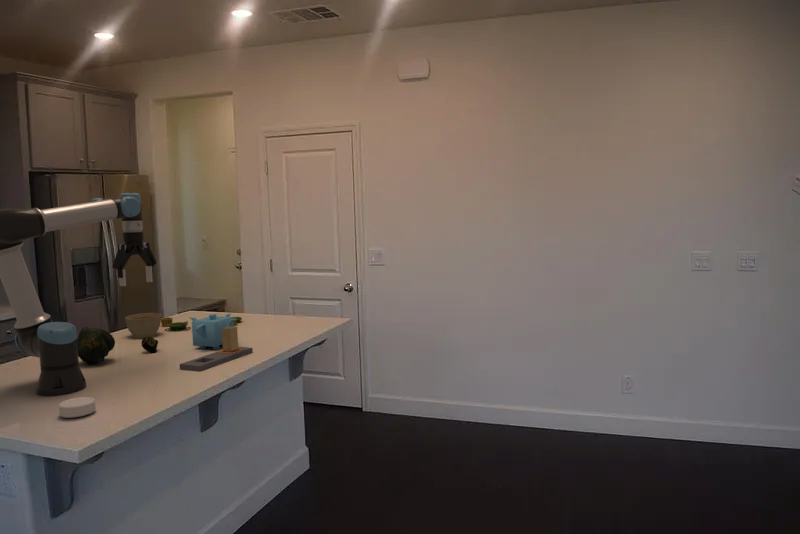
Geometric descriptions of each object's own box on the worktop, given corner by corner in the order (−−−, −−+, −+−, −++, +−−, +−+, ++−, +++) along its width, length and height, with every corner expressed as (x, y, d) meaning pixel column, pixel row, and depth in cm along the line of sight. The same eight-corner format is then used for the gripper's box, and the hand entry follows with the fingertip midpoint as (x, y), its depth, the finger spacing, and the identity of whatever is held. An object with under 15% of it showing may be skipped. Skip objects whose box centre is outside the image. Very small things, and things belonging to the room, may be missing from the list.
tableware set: (151, 335, 305) (150, 322, 305) (167, 325, 333) (167, 313, 332) (235, 331, 309) (234, 319, 308) (244, 322, 336) (243, 310, 336)
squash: (75, 369, 238) (72, 331, 236) (79, 361, 251) (76, 325, 250) (114, 365, 243) (112, 328, 242) (117, 357, 257) (114, 322, 255)
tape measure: (152, 355, 263) (157, 350, 262) (138, 348, 260) (143, 342, 259) (155, 346, 269) (160, 340, 268) (141, 338, 265) (146, 333, 264)
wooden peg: (231, 357, 250) (230, 328, 249) (223, 356, 252) (221, 328, 251) (238, 355, 254) (237, 326, 253) (230, 354, 256) (228, 326, 255)
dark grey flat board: (200, 371, 230) (199, 365, 229) (179, 369, 234) (179, 363, 233) (252, 352, 259) (252, 347, 258) (233, 350, 263) (233, 345, 262)
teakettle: (196, 353, 260) (194, 319, 258) (190, 345, 277) (188, 313, 275) (240, 348, 268) (239, 315, 267) (232, 340, 285) (230, 309, 284)
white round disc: (58, 411, 187) (57, 400, 187) (94, 405, 192) (93, 394, 192) (59, 420, 178) (58, 408, 178) (97, 414, 183) (96, 402, 183)
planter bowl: (123, 337, 298) (121, 315, 297) (157, 333, 308) (155, 311, 307) (131, 342, 285) (129, 320, 284) (166, 337, 295) (165, 315, 294)
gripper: (114, 232, 232) (118, 288, 234) (163, 230, 254) (166, 280, 256) (100, 233, 235) (103, 287, 237) (150, 230, 257) (153, 280, 259)
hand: (136, 284), depth 246 cm, fingers open, 13 cm apart
